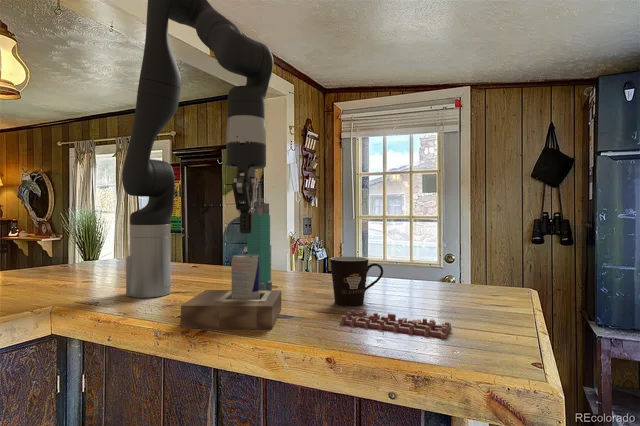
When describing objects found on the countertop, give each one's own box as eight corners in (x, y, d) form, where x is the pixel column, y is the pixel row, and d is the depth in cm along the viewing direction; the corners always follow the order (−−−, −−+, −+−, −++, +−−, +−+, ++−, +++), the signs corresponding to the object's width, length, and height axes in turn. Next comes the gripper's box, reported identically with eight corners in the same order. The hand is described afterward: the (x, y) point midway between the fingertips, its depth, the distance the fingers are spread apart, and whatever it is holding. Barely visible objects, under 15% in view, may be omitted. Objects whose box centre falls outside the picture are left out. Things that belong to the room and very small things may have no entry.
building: (276, 294, 99) (277, 173, 98) (261, 298, 93) (261, 171, 93) (258, 291, 102) (258, 174, 102) (241, 296, 97) (242, 172, 97)
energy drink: (264, 315, 79) (264, 254, 78) (252, 322, 73) (252, 257, 73) (239, 313, 80) (239, 254, 80) (226, 320, 75) (226, 256, 75)
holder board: (181, 328, 70) (181, 303, 70) (205, 308, 84) (205, 288, 84) (271, 329, 70) (272, 304, 69) (281, 309, 84) (281, 288, 83)
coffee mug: (326, 306, 86) (326, 260, 86) (334, 298, 95) (334, 256, 95) (380, 309, 84) (380, 262, 84) (383, 300, 92) (383, 257, 92)
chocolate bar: (449, 343, 64) (449, 331, 64) (340, 328, 72) (340, 317, 72) (454, 331, 71) (454, 320, 71) (354, 318, 79) (354, 308, 79)
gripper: (235, 148, 83) (234, 231, 83) (217, 136, 70) (217, 235, 70) (270, 148, 83) (270, 231, 83) (259, 136, 70) (259, 235, 70)
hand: (246, 233), depth 77 cm, fingers closed
